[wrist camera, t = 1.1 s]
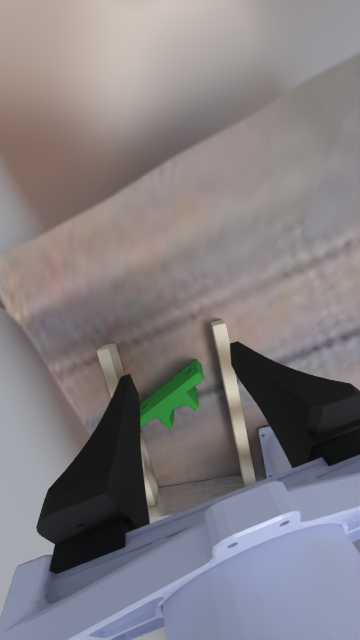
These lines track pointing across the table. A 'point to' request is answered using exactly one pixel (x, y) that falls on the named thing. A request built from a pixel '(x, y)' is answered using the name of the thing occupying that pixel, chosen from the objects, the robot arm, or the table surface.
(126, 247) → the table surface
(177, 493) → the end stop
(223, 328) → the guide rails
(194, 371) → the pipe clamp
